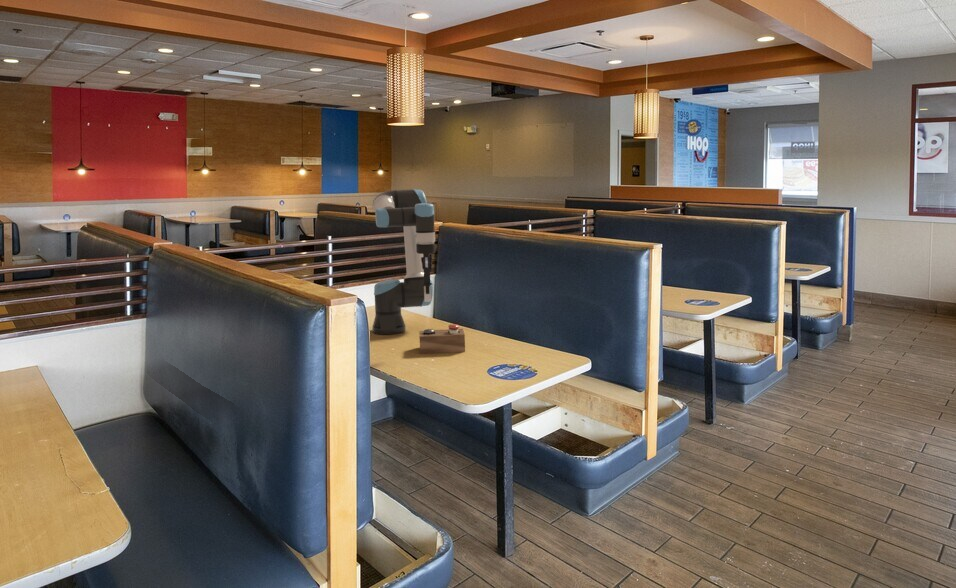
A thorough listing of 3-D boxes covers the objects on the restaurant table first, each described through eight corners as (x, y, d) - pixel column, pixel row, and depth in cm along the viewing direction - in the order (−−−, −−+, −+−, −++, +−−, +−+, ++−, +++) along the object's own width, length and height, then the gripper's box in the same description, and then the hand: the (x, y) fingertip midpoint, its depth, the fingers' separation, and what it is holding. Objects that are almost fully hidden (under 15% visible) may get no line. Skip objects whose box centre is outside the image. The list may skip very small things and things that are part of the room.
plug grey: (424, 347, 267) (423, 329, 266) (434, 346, 267) (434, 328, 266) (424, 349, 263) (424, 331, 262) (435, 349, 263) (434, 331, 262)
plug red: (448, 342, 268) (448, 324, 266) (459, 341, 268) (458, 324, 267) (449, 345, 264) (448, 327, 262) (459, 344, 264) (459, 326, 262)
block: (420, 347, 270) (419, 330, 269) (463, 345, 271) (462, 328, 270) (420, 353, 260) (419, 336, 259) (465, 351, 262) (464, 334, 260)
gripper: (416, 241, 263) (418, 298, 268) (416, 245, 250) (418, 305, 255) (434, 240, 264) (436, 297, 269) (435, 244, 251) (437, 304, 256)
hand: (427, 301), depth 262 cm, fingers closed
